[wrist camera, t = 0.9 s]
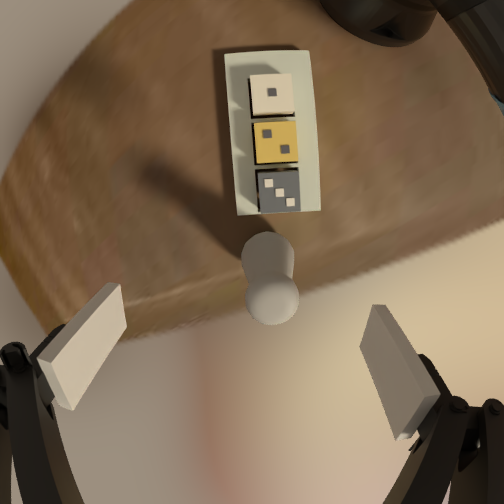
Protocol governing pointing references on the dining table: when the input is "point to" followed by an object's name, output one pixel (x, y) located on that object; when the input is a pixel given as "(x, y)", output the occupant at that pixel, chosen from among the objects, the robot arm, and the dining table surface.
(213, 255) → the dining table surface
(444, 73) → the dining table surface
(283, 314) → the salt shaker
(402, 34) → the robot arm
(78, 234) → the dining table surface
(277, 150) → the tile
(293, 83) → the tile board
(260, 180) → the tile
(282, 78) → the tile
